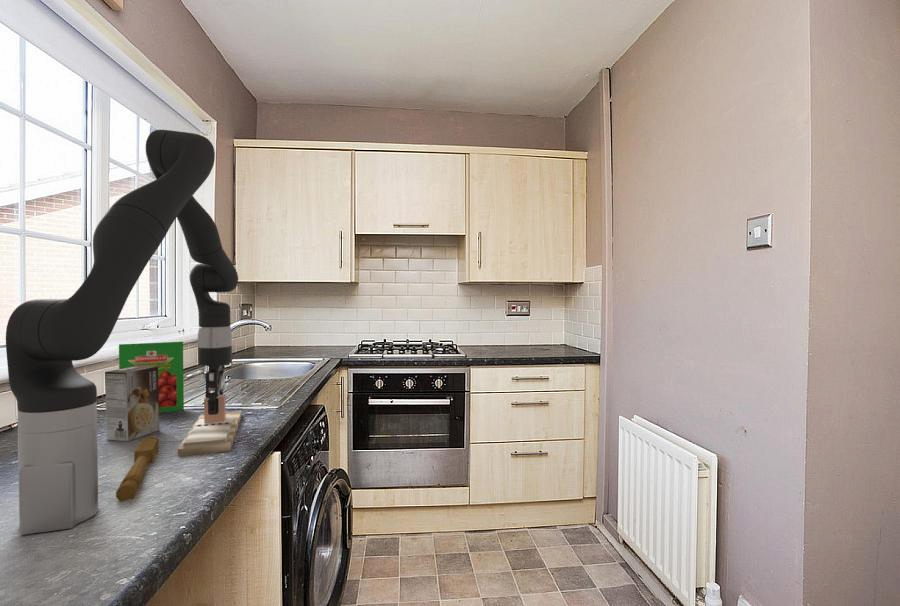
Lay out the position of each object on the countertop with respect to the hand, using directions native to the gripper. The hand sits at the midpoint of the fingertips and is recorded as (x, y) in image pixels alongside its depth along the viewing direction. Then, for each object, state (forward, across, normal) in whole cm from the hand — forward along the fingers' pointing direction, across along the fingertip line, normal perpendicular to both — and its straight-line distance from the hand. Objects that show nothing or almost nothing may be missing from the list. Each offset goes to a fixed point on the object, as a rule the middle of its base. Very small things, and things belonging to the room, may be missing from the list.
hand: (215, 410), depth 117 cm
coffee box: (+5, +2, +18) cm, 19 cm away
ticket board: (+5, -2, 0) cm, 6 cm away
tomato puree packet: (+6, +24, +19) cm, 32 cm away
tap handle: (+6, -24, +10) cm, 26 cm away
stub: (+4, 0, 0) cm, 4 cm away
